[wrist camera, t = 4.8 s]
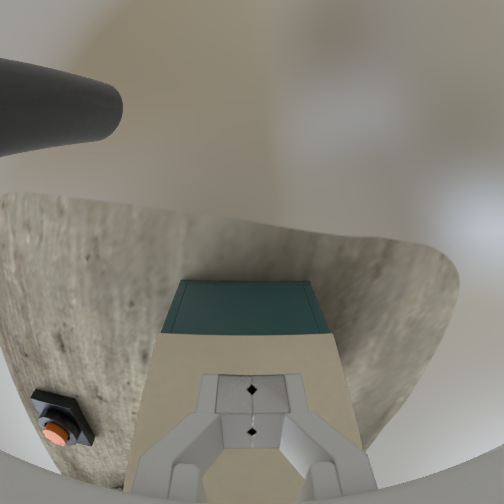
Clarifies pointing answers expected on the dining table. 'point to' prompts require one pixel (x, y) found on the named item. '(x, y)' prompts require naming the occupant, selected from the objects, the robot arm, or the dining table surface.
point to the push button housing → (63, 416)
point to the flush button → (55, 434)
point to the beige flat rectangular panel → (241, 363)
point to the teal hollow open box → (245, 309)
